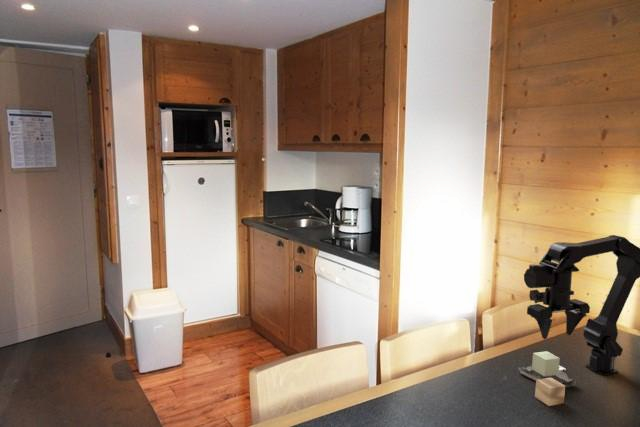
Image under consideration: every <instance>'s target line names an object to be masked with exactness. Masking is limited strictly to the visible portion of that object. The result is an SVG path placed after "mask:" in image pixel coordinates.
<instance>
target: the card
mask: <svg viewBox="0 0 640 427" xmlns="http://www.w3.org/2000/svg"><path fill="white" fill-rule="evenodd" d="M563 370H564V371H566V370H567V368H565V367H564V366H561V365H560V364H559V371H562V372H564V371H563Z"/></svg>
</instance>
